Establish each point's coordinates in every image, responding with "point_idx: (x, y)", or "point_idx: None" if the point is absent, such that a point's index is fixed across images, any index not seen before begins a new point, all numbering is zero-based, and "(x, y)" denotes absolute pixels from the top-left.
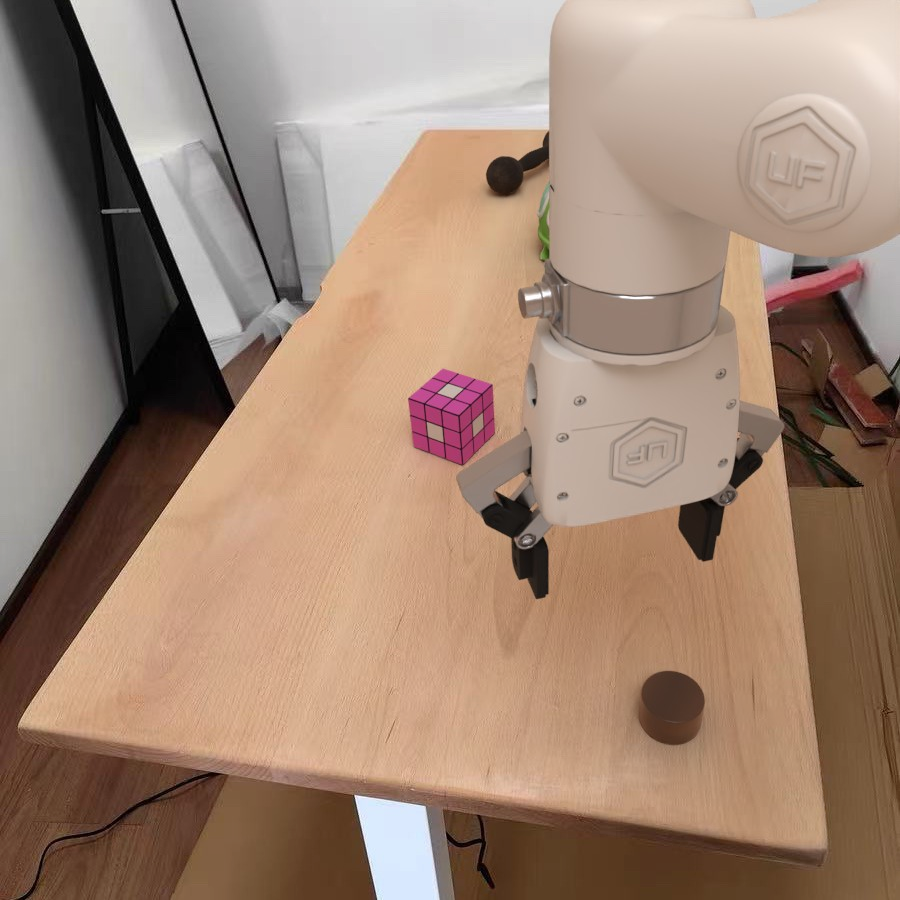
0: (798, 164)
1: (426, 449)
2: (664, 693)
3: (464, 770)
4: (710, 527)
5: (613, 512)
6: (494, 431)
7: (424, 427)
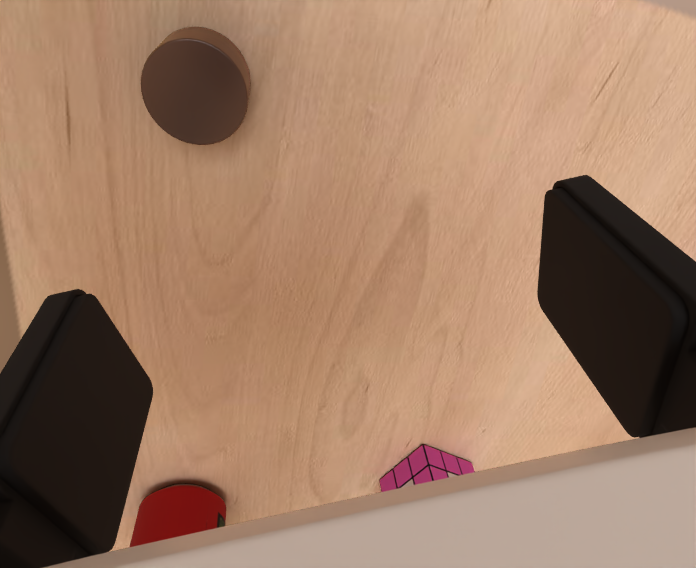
0: None
1: (459, 460)
2: (209, 100)
3: (524, 3)
4: (11, 398)
5: (574, 546)
6: (380, 481)
7: None
